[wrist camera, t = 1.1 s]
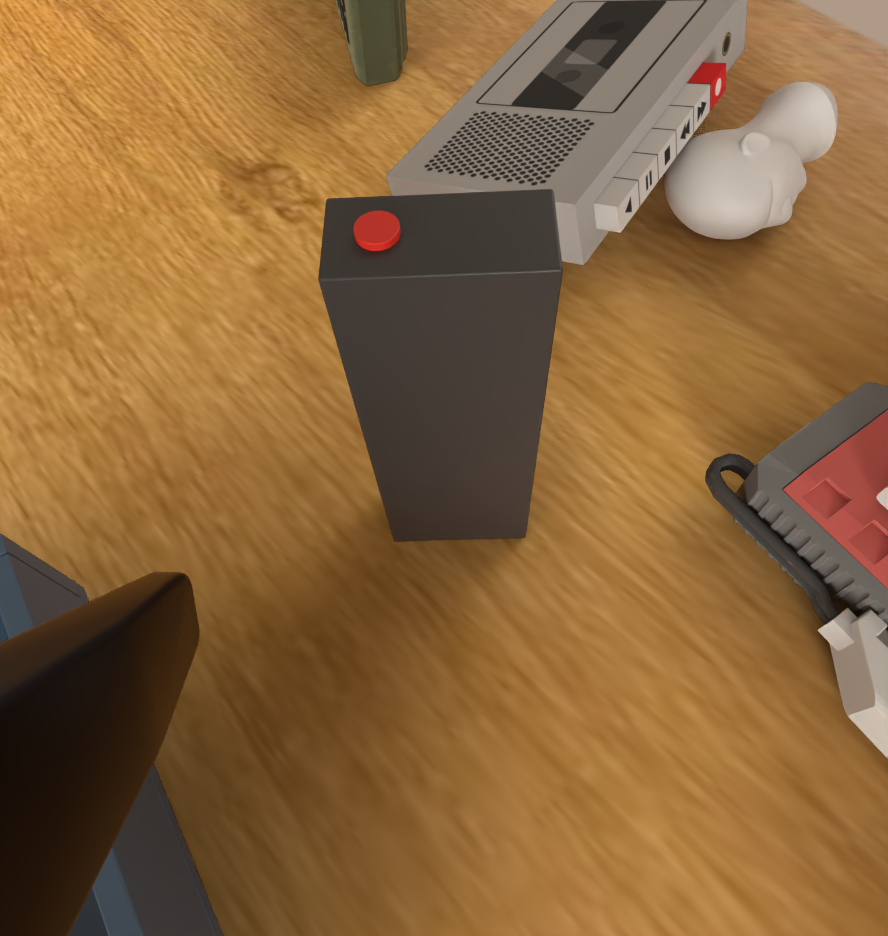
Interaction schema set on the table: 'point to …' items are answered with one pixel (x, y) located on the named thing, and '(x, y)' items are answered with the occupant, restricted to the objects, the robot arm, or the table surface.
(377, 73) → the handheld radio
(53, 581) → the tote
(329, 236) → the block
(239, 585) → the table surface
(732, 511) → the walkie-talkie
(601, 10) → the cassette player
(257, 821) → the table surface
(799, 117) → the cream animal figurine
